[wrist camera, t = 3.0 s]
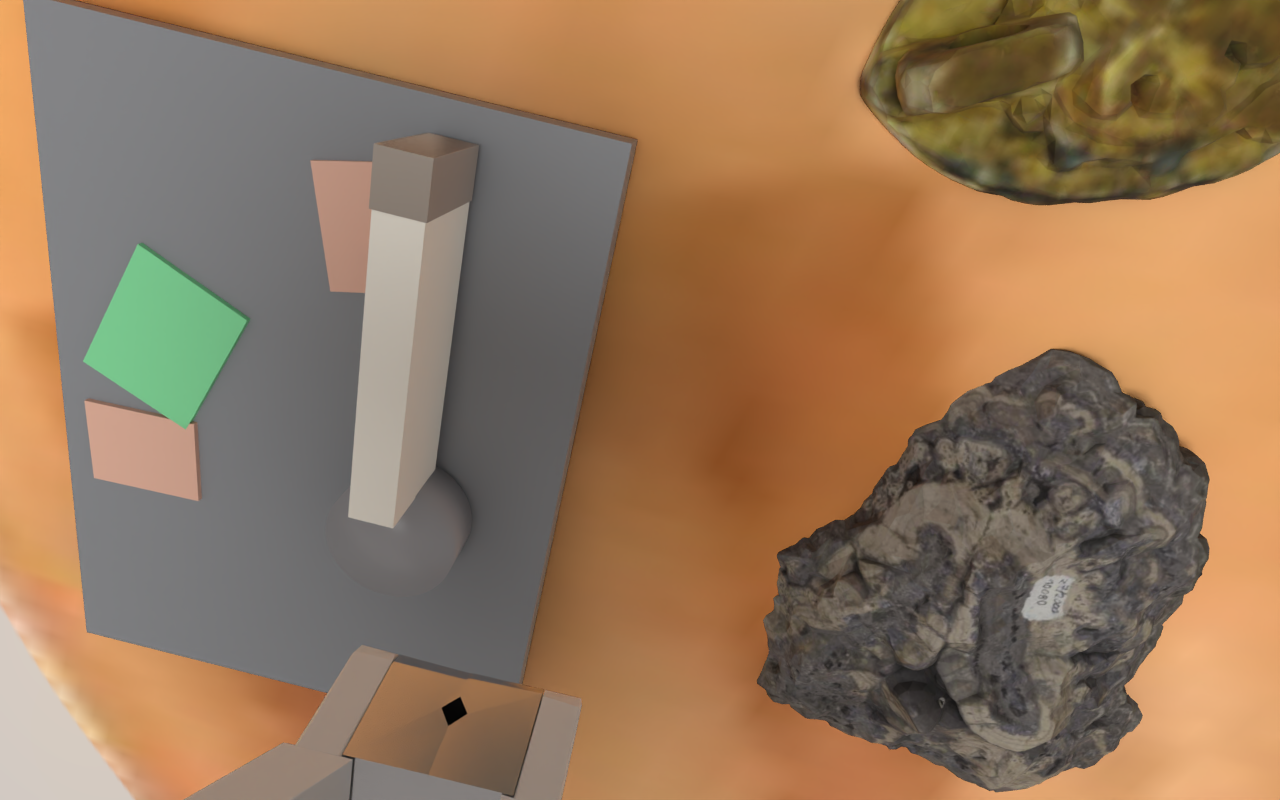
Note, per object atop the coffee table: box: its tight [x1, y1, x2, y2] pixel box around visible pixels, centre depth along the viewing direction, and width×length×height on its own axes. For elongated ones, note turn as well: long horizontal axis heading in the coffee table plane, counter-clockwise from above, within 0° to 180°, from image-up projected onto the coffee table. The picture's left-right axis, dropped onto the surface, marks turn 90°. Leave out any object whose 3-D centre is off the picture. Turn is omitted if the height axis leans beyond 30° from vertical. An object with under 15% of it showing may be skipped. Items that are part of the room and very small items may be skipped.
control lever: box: [325, 132, 479, 597], centre depth 23 cm, size 15×4×4 cm, turn 167°
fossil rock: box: [757, 349, 1209, 792], centre depth 27 cm, size 19×4×15 cm
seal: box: [860, 0, 1280, 205], centre depth 19 cm, size 9×5×15 cm
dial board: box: [23, 0, 637, 693], centre depth 27 cm, size 24×18×2 cm
